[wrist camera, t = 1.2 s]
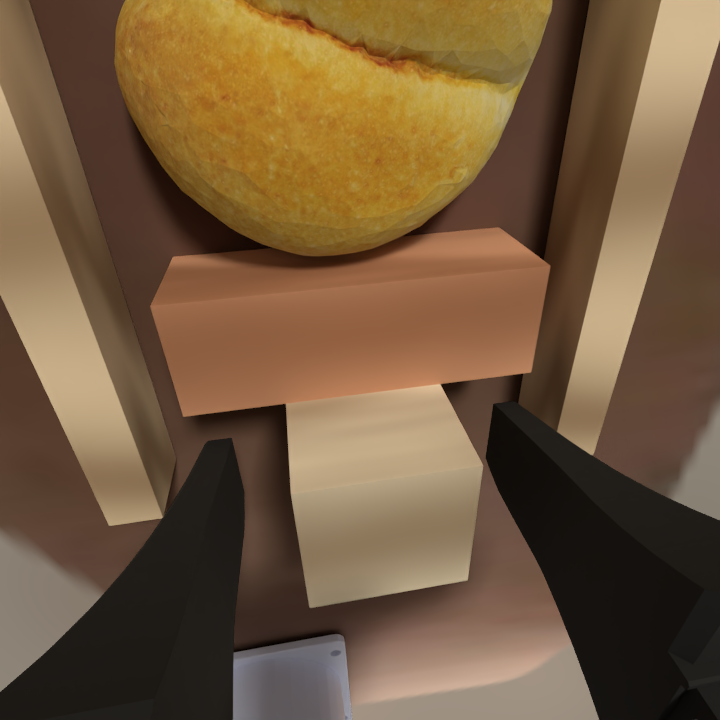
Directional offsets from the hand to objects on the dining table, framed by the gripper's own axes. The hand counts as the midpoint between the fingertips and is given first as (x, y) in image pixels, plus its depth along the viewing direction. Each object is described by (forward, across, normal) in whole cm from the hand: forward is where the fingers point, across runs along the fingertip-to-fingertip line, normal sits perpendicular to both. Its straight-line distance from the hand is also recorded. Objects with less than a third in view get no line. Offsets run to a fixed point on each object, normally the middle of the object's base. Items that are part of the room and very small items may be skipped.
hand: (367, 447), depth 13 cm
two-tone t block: (+3, 0, -1) cm, 3 cm away
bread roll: (+3, 0, -10) cm, 10 cm away
